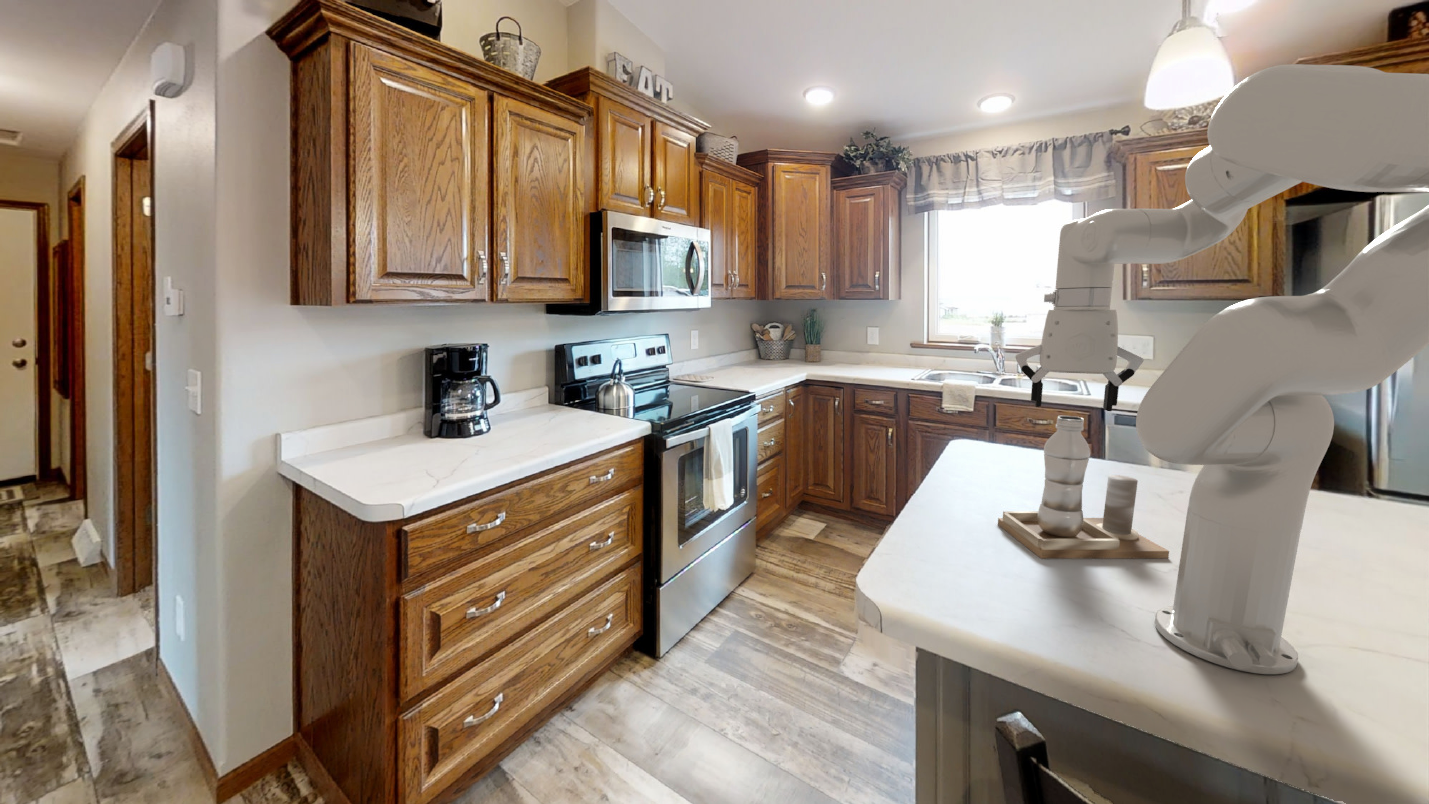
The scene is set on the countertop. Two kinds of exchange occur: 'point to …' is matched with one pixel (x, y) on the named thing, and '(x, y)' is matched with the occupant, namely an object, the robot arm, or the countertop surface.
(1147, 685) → the countertop surface
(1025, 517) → the board
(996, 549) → the countertop surface
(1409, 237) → the robot arm
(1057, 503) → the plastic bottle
